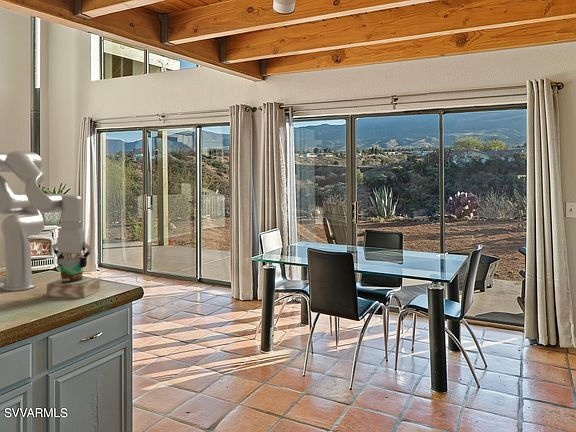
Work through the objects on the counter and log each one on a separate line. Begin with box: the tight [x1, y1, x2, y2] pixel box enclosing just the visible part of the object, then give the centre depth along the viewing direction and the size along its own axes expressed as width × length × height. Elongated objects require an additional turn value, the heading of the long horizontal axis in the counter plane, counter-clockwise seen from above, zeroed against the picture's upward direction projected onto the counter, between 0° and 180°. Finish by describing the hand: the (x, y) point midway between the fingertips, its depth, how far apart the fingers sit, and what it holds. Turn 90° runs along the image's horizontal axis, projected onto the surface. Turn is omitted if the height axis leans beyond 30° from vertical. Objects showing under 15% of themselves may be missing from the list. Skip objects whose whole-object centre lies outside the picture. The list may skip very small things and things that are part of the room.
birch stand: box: [46, 277, 101, 299], centre depth 192 cm, size 16×12×5 cm
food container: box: [59, 253, 84, 283], centre depth 191 cm, size 12×6×10 cm, turn 169°
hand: (72, 266), depth 191 cm, fingers open, 9 cm apart
